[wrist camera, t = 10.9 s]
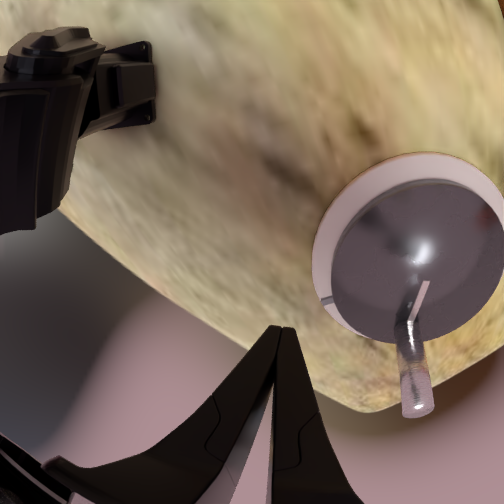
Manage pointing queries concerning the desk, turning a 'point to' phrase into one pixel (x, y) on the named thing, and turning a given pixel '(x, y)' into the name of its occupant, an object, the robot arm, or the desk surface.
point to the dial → (417, 272)
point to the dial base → (374, 185)
